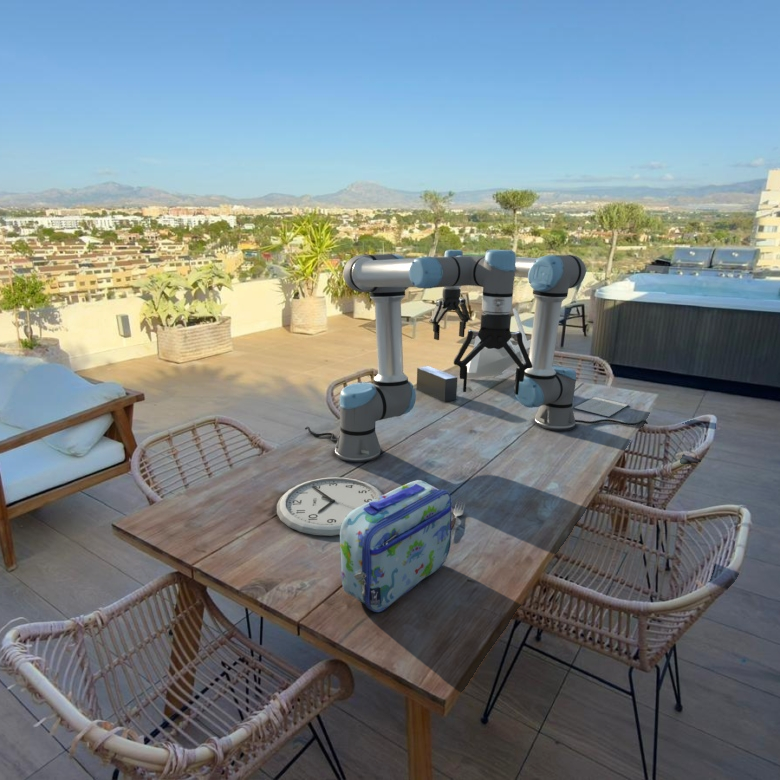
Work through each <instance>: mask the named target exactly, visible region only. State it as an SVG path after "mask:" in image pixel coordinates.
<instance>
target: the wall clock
mask: <svg viewBox="0 0 780 780" xmlns="http://www.w3.org/2000/svg"><path fill="white" fill-rule="evenodd" d="M384 494H385V493H383V492H382V491H381V490H380V489H379V488H377V487H376V486H374V485H372V484H371V483H369V482H365V481H362V480H359V479H355V478H349V477H338V476H337V477H335V476H333V477H332V476H331V477H322V478H317V479H312V480H307V481H305V482H302V483H299V484H297V485H295V486H293V487H292V488H290V489H288V490H287V491H286V492H285V493H284V494H283V495H281V496H280V498H279V499H278V502H277V503H276V515H277V517H278V518H279V520H280V521H281V522H282V523H283V524H285V525H286V526H287V527H288V528H290V529H293V530H295V531H297V532H299V533H303V534H308V535H312V536H327V537H328V536H329V537H331V536H332V537H333V536H340V530H341V526H342V523H343V521H344V519H345V518H346V516H347V515H348V514H349V513H350V512H351V511H353V510H354V509H356V508H358V507H360V506H362V505H364V504H366V503H368V502H370V501H372V500H374V499H376V498H378V497H380V496H382V495H384Z"/></svg>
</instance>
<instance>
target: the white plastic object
mask: <svg viewBox="0 0 780 780" xmlns="http://www.w3.org/2000/svg"><path fill="white" fill-rule="evenodd" d="M512 312H513V315H514V319H515V322H516V325H517V328H518V331H520V332H521V333H522V342H523V344H524V347H525V349H526V351H527V354H528V356H529V353H530V345H531V338H530V339H528V338H527V336H526V332H525V330H524V327H523V324H522V321H521V317H520V314H519V312H518V310H517V309H516V307H512ZM527 339H528V340H527ZM480 341H481V340H480V338H479V337H478V336H476V337H475V339H474V344H473V348H472V350H473V349H474V348H475V347H476V346H477V345H478V343H479V342H480ZM507 344H508V345H509V346H510V348H511V349H512V350H513V352H514V353H515V354H516V355H517V357H518V358H519V359H520V360H522V363H523V364H524V363H526V362H525V360H524V357H523V355H522V353H521V350H520V348H519V345H518V343H517V344H513V342H512V341H511V339H510V340H509V341H508V342H507ZM514 364H516V363H515V361H514V360H513V359H512V358H511V356H510V355H509V354H508V352H507V351H506V350H505V349H504V347H503V348H500V349H495V348H492V349H488V348H486V347H484V348H483V349H482V350H481V351H480V352H479V353H478V354H477V355H476V356H475V357H474V358H473V359H472V360H471V361H470V362H469V363H468V364H467V365H466V366H467V368H468V369H467V380H468V379H476V378H477V379H478V378H486V377H493V378H496V377H499V376H501V375H503V372H505V371H506V370H507V369H509V368H510V367H512V366H513V365H514Z"/></svg>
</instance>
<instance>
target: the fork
mask: <svg viewBox="0 0 780 780" xmlns="http://www.w3.org/2000/svg"><path fill="white" fill-rule="evenodd" d="M458 501H459V500H457V501H456V504H455V507H454V509H453V514H452V515H454V517H453V519H451V531H452V530H453V529H454V527H455V525H456V520H457V517H461V516H463V514H464V511H465V505H466V502H463V501H459V502H458ZM460 504H461V505H460Z"/></svg>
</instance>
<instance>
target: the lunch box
mask: <svg viewBox="0 0 780 780" xmlns="http://www.w3.org/2000/svg"><path fill="white" fill-rule="evenodd" d="M383 494H384V495H382V496H380V497H378V498H376V499H374V500H372V501H370V502H368V503H366V504H364V505H362V506H360V507H358V508H356V509H354V510H353V511H351V512H350V513H349V514H348V515H347V516H346V518H345V519H344V521H343V523H342V526H341V530H340V535H339V551H340V574H341V576H340V577H341V585H342V588H343V589H342V590H343V591H344V593H346V594H348V595H350V596H352V597H353V598H355V599H357V600H358V601H359V602H361V603H362V604H364V605H365V606H366V608H367V609H369V610H370V611H371V612H374V613H381V612H384V611H385V610H386V609H387V608H389V607H390V606H391V605H392V604H393V603H395V602H396V601H397V600H399V599H400V598H401V597H402V596H404V595H405V594H407V593H408V592H410V591H411V590H412V589H413V588H415V587H416V586H417V585H418V584H419V583H420V582H421V581H423V580H425V579H426V578H427V577H429V576H430V575H432V574H434V573H435V572H436V571H438V570H439V569H440V568H441V567H442V566H443V565H444V563H445V562H446V560H447V558H448V556H449V553H450V550H451V549H450V548H451V545H452V543H451V542H452V530H451V522H452V497H451V494H450V492H449V491H448V490H446V489H438V488H437V487H435V486H434V485H431V484H429V483H427V482H426V481H424V480H421V479H416V480H413V481H410V482H408V483H405V484H403V485H401V486H399V487H397V488H394V489H393V490H390V491H388V492H387V493H383Z"/></svg>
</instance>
